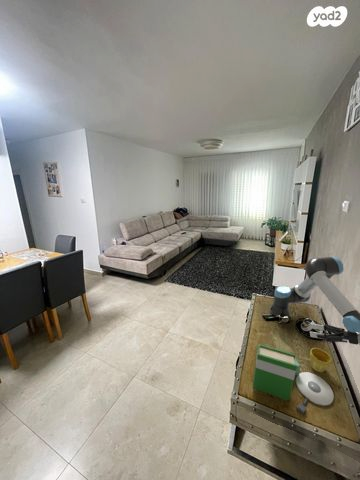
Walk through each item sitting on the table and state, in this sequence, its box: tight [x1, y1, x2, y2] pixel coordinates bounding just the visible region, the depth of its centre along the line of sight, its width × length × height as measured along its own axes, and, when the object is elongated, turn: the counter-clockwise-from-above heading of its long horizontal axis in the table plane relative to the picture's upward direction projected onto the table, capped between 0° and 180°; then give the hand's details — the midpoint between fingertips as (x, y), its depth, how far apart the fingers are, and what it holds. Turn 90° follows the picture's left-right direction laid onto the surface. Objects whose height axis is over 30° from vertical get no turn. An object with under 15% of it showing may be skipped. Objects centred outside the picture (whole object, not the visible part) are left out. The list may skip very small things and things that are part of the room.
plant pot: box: [309, 347, 332, 373], centre depth 118 cm, size 10×10×10 cm
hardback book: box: [252, 343, 297, 402], centre depth 105 cm, size 18×7×24 cm, turn 67°
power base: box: [295, 371, 334, 415], centre depth 105 cm, size 26×17×2 cm, turn 128°
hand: (310, 329), depth 118 cm, fingers open, 13 cm apart
